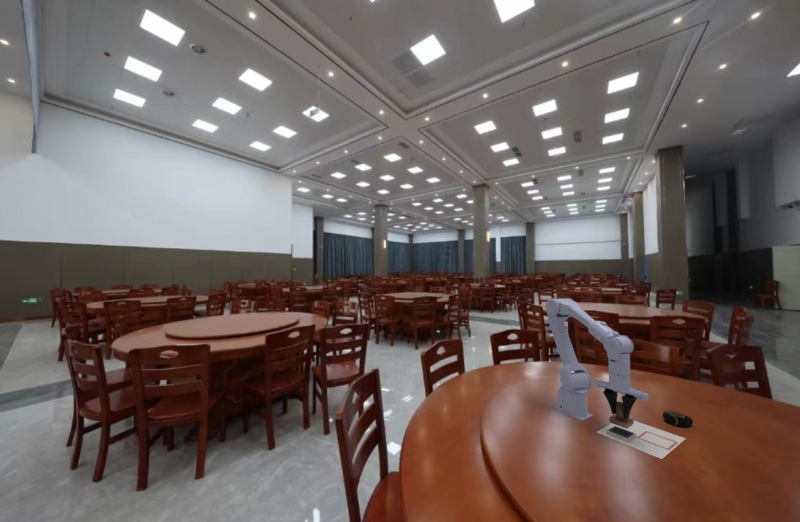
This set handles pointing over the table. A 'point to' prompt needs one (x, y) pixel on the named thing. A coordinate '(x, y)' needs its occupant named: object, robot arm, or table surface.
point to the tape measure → (677, 419)
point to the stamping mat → (643, 438)
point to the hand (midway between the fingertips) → (620, 415)
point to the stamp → (620, 417)
